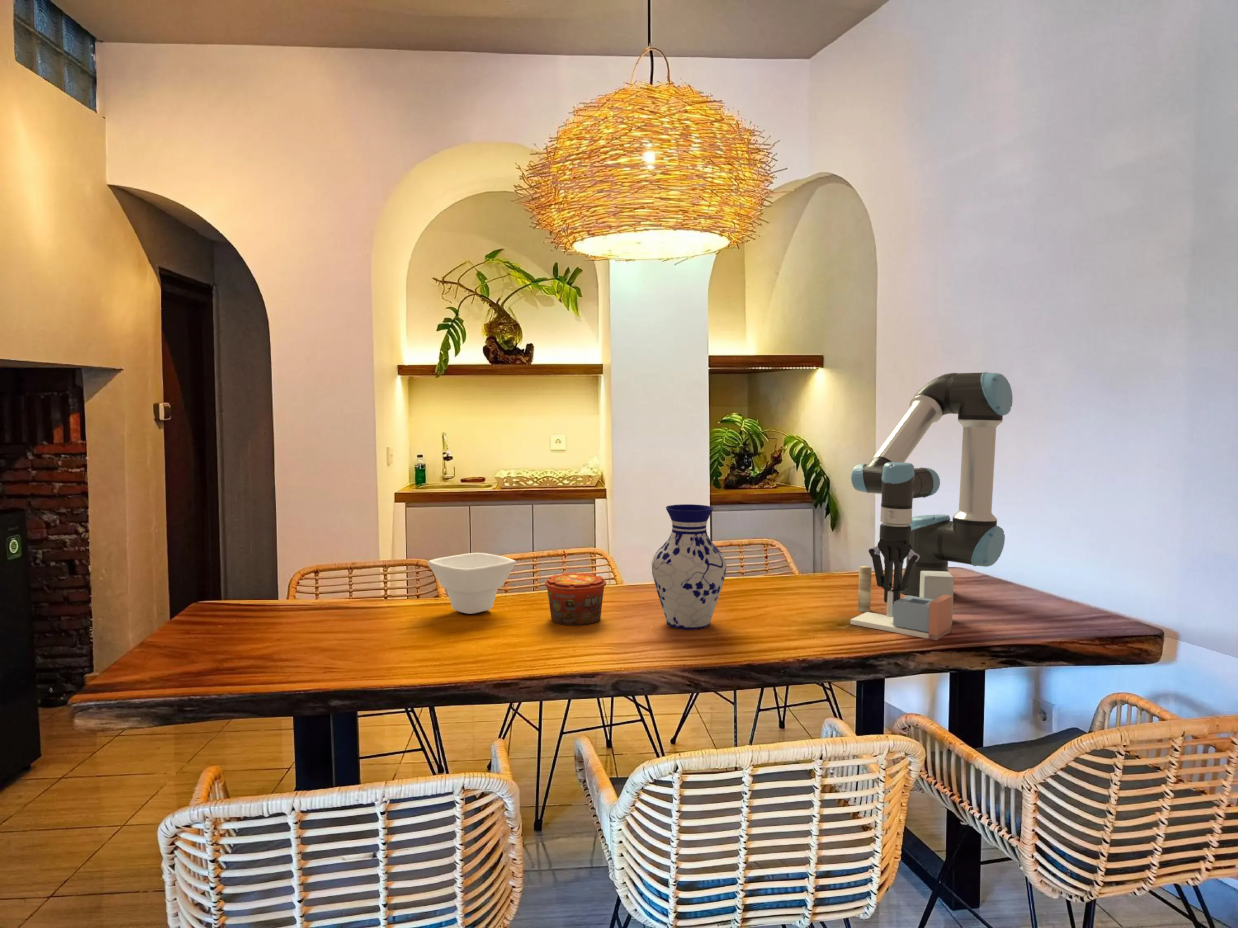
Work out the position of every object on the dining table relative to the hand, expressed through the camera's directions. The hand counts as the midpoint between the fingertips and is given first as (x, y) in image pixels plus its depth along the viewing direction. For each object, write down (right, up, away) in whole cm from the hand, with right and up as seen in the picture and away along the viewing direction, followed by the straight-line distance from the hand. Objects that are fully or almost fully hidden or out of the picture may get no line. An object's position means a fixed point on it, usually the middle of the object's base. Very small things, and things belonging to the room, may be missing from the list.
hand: (891, 615), depth 218 cm
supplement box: (+13, -3, +5) cm, 14 cm away
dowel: (-3, -1, +15) cm, 16 cm away
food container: (-80, -2, +6) cm, 81 cm away
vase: (-52, -3, +1) cm, 52 cm away
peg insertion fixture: (+2, -3, -1) cm, 4 cm away
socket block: (+5, -2, -4) cm, 7 cm away
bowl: (-109, -1, +13) cm, 109 cm away
